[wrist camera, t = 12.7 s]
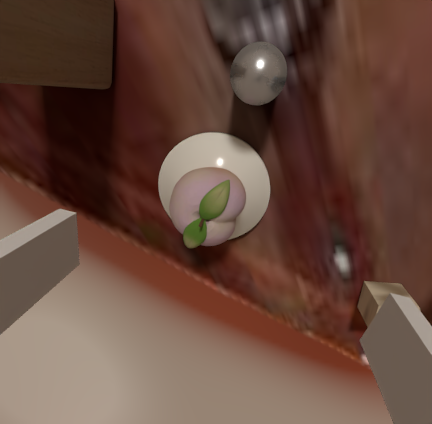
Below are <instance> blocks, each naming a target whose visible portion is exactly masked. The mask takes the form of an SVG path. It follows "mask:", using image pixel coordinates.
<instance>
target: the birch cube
mask: <svg viewBox="0 0 432 424" xmlns="http://www.w3.org/2000/svg"><path fill="white" fill-rule="evenodd" d="M389 293H393V294H397V295H401V296H405V297H409V298H411V300H412V301H413V302H414V304H415V305H416V306H417V308H418V309H419V310H420V307H419V306H418V305H417V304H416V302H415V301H414V300H413V299H412V297H411V296H410V295H409V293H408V292H407V291H406V290H405V288H404V287H403V286H402V285H401V284H399V283H384V282H369V281H364V283H363V287H362V291H361V295H360V298H359V302H358V306H357V307H358V309H359V311H360V313H361V315H362V317H363V319H364V321H365V323H366V325H367V327H369V325H370V323H371V322H372V320H373V319H374V317H375V316H376V314H377V312H378V311H379V309H380V308H381V306H382V304H383V303H384V301H385V300H386V298H387V297H388V295H389Z"/></svg>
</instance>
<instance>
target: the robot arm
mask: <svg viewBox="0 0 432 424" xmlns="http://www.w3.org/2000/svg"><path fill="white" fill-rule="evenodd" d="M78 265H79V249H78V233H77V215H76V213H75V212H71V211H67V210H63V209H58V210H56V211H54V212H53V213H51V214H49V215H47V216H45V217H43V218H41V219H39V220H37V221H35V222H34V223H32V224H30V225H28V226H26V227H24V228H22V229H20V230H18V231H17V232H15V233H13V234H11V235H9V236H7V237H5V238H3V239H2V240H0V334H2V333H3V332H4V331H5V330H6V329H7V328H8V327H10V326H11V325H12V324H13V323H14V322H15V321H16V320H17V319H18V318H20V317H21V316H22V315H23V314H24V313H25V312H26V311H28V309H30V308H31V307H32V306H33V305H34V304H35V303H36V302H38V301H39V300H40V299H41V298H42V297H43V296H44V295H45V294H47V293H48V292H49V291H50V290H51V289H52V288H53V287H55V286H56V285H57V284H58V283H59V282H60V281H61V280H62V279H64V278H65V277H66V276H67V275H68V274H69V273H70V272H71V271H73V270H74V269H75V268H76V267H77V266H78ZM360 342H361V345H362V347H363V350H364V352H365V355H366V357H367V360H368V362H369V364H370V367H371V369H372V372H373V374H374V377H375V379H376V382H377V384H378V386H379V389H380V391H381V394H382V396H383V399H384V401H385V404H386V406H387V409H388V411H389V413H390V416H391V418H392V421H393V423H394V424H432V326H431V325H430V323H429V322H428V321H427V319H426V318H425V317H424V316H423V314H422V313H421V312H420V310H419V309H418V308H417V306H416V305H415V304H414V302H413V301H412V300H411V298H409V297H405V296H401V295H397V294H393V293H389V295H388V297H387V298H386V300H385V301H384V303H383V304H382V306H381V308H380V309H379V311H378V312H377V314H376V316H375V317H374V319H373V320H372V322H371V323H370V325H369V327H368V328H367V330H366V331H365V333H364V334H363V336H362V338H361V339H360Z"/></svg>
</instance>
